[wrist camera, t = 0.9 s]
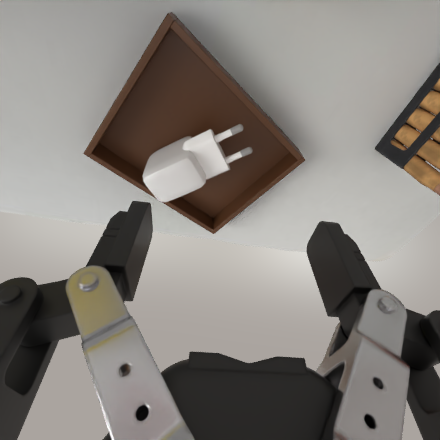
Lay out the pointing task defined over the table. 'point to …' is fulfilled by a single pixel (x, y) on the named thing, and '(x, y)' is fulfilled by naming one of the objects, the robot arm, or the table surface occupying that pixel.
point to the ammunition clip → (417, 135)
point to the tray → (192, 126)
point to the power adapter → (189, 164)
